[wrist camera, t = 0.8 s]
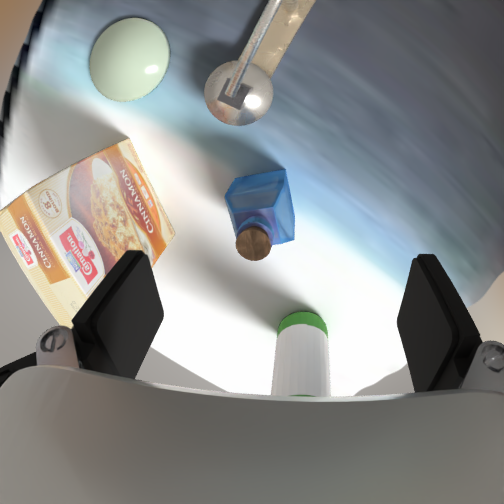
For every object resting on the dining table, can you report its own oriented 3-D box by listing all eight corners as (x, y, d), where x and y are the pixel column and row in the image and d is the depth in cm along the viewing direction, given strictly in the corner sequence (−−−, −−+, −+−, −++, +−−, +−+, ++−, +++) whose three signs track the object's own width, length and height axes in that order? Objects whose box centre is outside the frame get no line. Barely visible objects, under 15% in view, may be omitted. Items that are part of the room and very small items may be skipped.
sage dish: (112, 11, 27) (108, 10, 26) (185, 31, 29) (182, 30, 28) (83, 87, 33) (79, 88, 32) (149, 112, 34) (146, 113, 33)
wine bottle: (314, 348, 51) (309, 524, 25) (270, 335, 50) (245, 517, 25) (335, 316, 47) (345, 513, 21) (289, 302, 46) (270, 508, 21)
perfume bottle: (294, 216, 39) (293, 270, 29) (246, 223, 40) (229, 277, 30) (285, 169, 36) (281, 208, 26) (234, 178, 38) (210, 219, 27)
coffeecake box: (177, 234, 43) (112, 334, 26) (137, 246, 45) (68, 339, 28) (131, 135, 36) (24, 190, 19) (92, 156, 38) (-10, 218, 21)
